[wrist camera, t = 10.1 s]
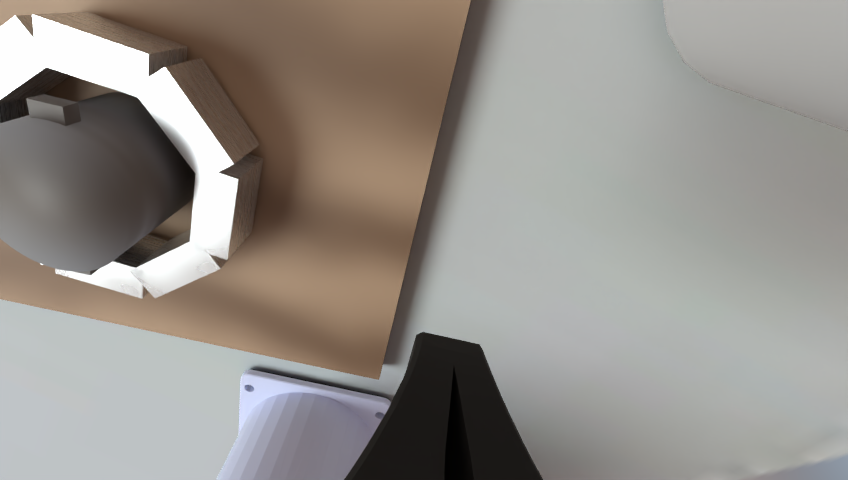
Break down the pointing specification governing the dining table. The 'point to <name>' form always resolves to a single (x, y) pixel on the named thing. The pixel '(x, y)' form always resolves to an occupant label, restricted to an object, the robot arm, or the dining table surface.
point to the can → (769, 50)
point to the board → (279, 182)
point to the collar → (173, 111)
